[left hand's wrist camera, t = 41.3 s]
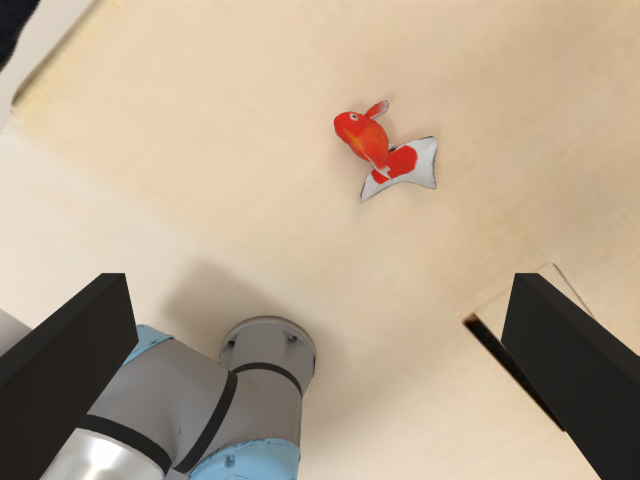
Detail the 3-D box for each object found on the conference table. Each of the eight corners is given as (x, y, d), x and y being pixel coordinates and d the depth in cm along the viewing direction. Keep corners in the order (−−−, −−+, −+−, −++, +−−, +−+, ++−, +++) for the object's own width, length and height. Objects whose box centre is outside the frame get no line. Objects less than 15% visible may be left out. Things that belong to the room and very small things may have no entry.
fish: (399, 54, 41) (410, 109, 35) (448, 149, 51) (463, 204, 45) (318, 103, 46) (315, 158, 40) (377, 180, 56) (382, 233, 50)
